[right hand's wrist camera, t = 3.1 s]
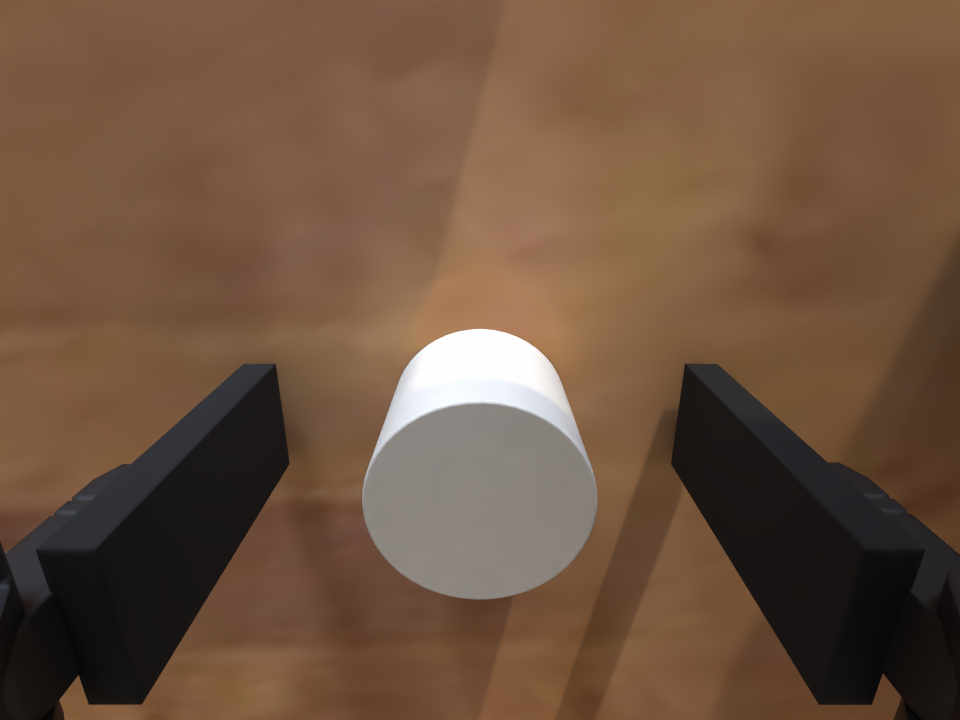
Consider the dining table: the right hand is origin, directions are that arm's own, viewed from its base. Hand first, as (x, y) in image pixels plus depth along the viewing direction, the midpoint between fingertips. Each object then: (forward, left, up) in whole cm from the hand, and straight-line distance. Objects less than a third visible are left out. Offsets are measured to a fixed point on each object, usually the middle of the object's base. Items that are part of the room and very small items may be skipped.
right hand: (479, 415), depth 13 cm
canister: (0, 0, 0) cm, 0 cm away
